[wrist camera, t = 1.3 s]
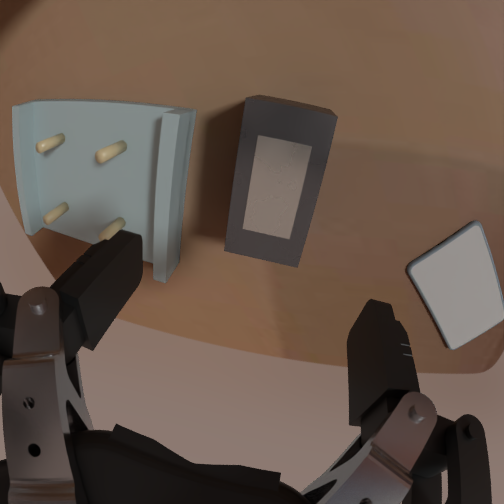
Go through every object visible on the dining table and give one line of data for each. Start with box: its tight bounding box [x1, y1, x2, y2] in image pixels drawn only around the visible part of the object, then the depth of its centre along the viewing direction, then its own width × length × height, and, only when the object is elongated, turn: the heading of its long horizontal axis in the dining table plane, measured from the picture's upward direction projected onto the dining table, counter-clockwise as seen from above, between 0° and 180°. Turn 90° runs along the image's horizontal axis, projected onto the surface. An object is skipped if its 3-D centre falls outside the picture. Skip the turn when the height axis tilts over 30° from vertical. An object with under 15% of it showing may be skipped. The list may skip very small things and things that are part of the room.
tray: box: [12, 99, 197, 283], centre depth 22 cm, size 14×18×4 cm
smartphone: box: [407, 221, 504, 350], centre depth 24 cm, size 8×1×15 cm
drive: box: [224, 95, 338, 268], centre depth 19 cm, size 10×5×5 cm, turn 171°
